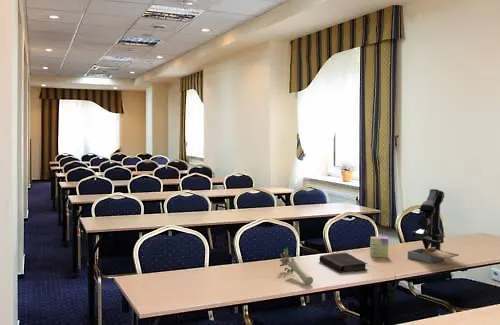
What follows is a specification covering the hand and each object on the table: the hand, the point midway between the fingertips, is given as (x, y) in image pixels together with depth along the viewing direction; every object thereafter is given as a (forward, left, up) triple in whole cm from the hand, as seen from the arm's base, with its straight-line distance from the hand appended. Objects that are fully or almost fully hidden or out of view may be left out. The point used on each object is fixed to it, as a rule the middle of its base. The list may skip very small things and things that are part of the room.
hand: (426, 249), depth 315 cm
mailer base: (0, 0, -6) cm, 6 cm away
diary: (+53, -19, -7) cm, 57 cm away
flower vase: (+90, -20, -6) cm, 93 cm away
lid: (0, +9, -1) cm, 9 cm away
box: (+17, -22, -6) cm, 29 cm away
